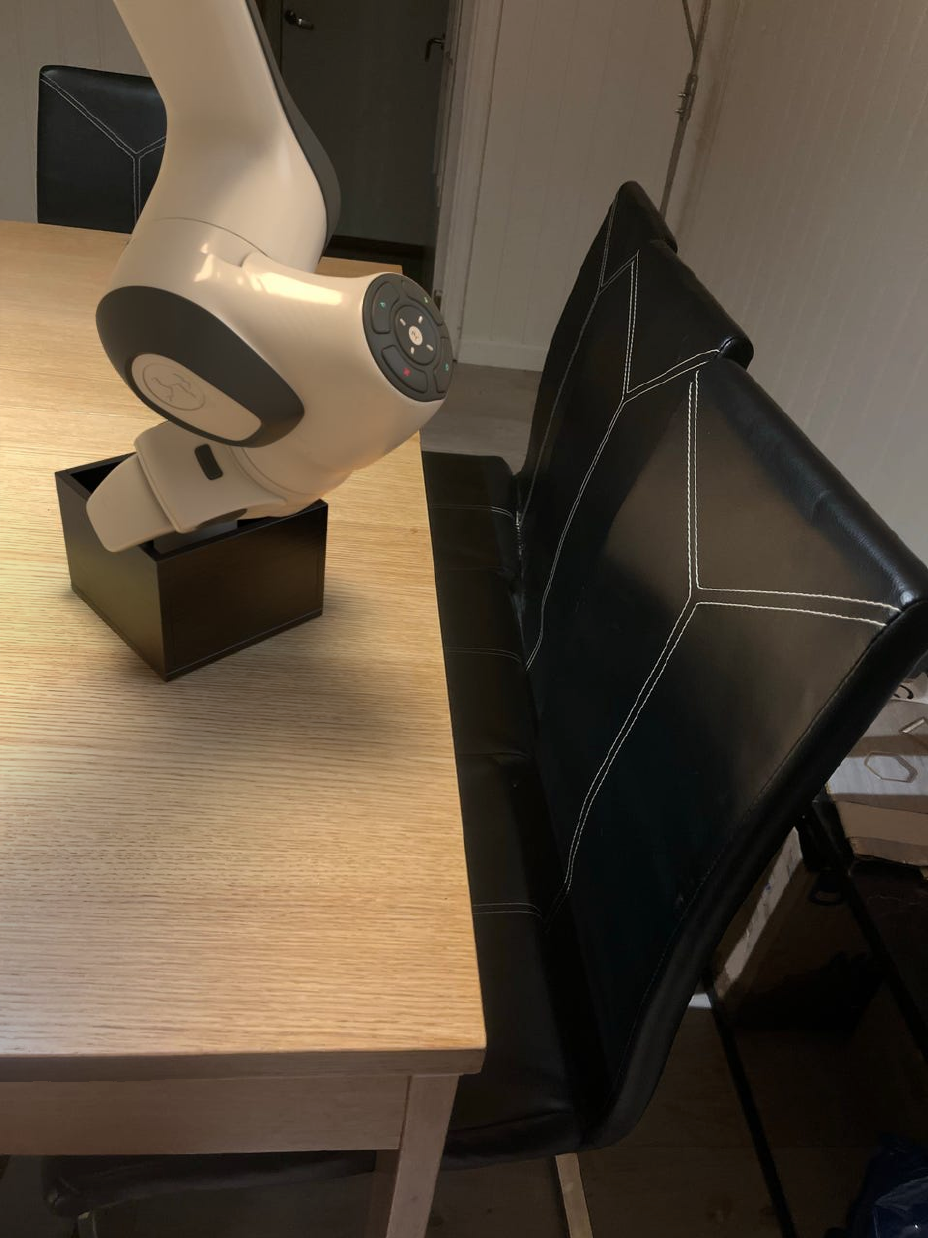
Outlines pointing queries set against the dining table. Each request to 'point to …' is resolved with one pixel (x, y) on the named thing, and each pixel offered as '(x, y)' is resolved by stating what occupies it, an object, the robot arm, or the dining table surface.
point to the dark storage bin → (195, 580)
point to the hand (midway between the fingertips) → (193, 511)
